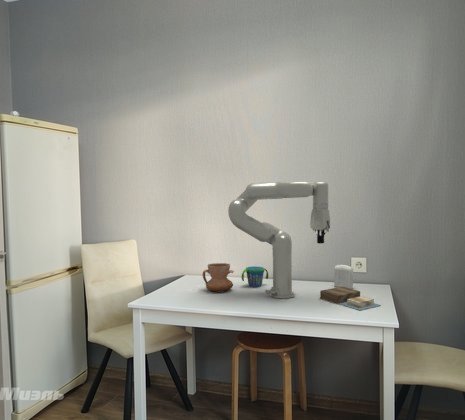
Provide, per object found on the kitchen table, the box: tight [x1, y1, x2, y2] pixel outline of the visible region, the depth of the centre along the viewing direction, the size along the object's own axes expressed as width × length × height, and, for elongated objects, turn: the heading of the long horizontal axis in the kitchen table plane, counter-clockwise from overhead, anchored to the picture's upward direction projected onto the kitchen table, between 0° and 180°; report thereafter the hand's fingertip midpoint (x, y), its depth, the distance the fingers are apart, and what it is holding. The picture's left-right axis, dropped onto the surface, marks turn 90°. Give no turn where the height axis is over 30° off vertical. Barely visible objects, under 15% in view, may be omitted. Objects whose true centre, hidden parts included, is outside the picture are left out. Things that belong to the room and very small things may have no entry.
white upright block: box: [333, 264, 354, 289], centre depth 236 cm, size 10×4×12 cm, turn 52°
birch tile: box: [347, 295, 375, 308], centre depth 202 cm, size 10×7×2 cm
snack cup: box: [241, 265, 269, 288], centre depth 243 cm, size 16×10×10 cm
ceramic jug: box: [202, 262, 235, 293], centre depth 234 cm, size 18×14×14 cm
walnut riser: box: [319, 287, 361, 305], centre depth 214 cm, size 15×12×4 cm
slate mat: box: [338, 302, 382, 311], centre depth 203 cm, size 14×13×1 cm
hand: (320, 243), depth 217 cm, fingers closed
